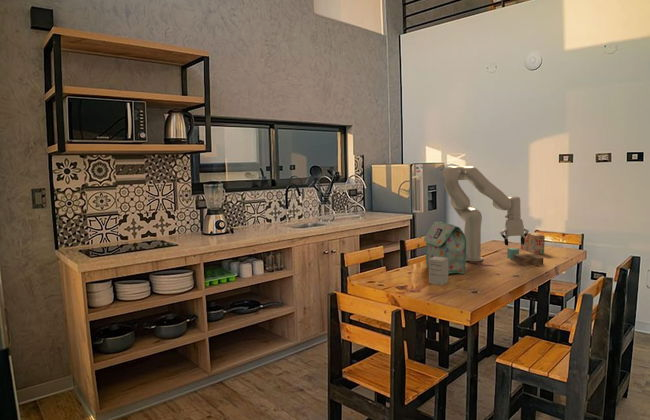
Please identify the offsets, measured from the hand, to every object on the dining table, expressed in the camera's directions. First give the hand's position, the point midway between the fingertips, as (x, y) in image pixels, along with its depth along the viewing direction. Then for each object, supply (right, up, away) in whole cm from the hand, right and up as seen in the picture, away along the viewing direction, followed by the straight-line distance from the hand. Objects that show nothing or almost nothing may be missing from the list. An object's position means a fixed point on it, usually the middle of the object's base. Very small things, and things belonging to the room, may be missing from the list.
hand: (514, 244), depth 280 cm
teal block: (-1, -8, +1) cm, 8 cm away
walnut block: (+2, -10, -13) cm, 16 cm away
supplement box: (-59, -15, -52) cm, 80 cm away
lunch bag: (-49, -13, -26) cm, 57 cm away
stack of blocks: (+20, -6, +21) cm, 30 cm away
